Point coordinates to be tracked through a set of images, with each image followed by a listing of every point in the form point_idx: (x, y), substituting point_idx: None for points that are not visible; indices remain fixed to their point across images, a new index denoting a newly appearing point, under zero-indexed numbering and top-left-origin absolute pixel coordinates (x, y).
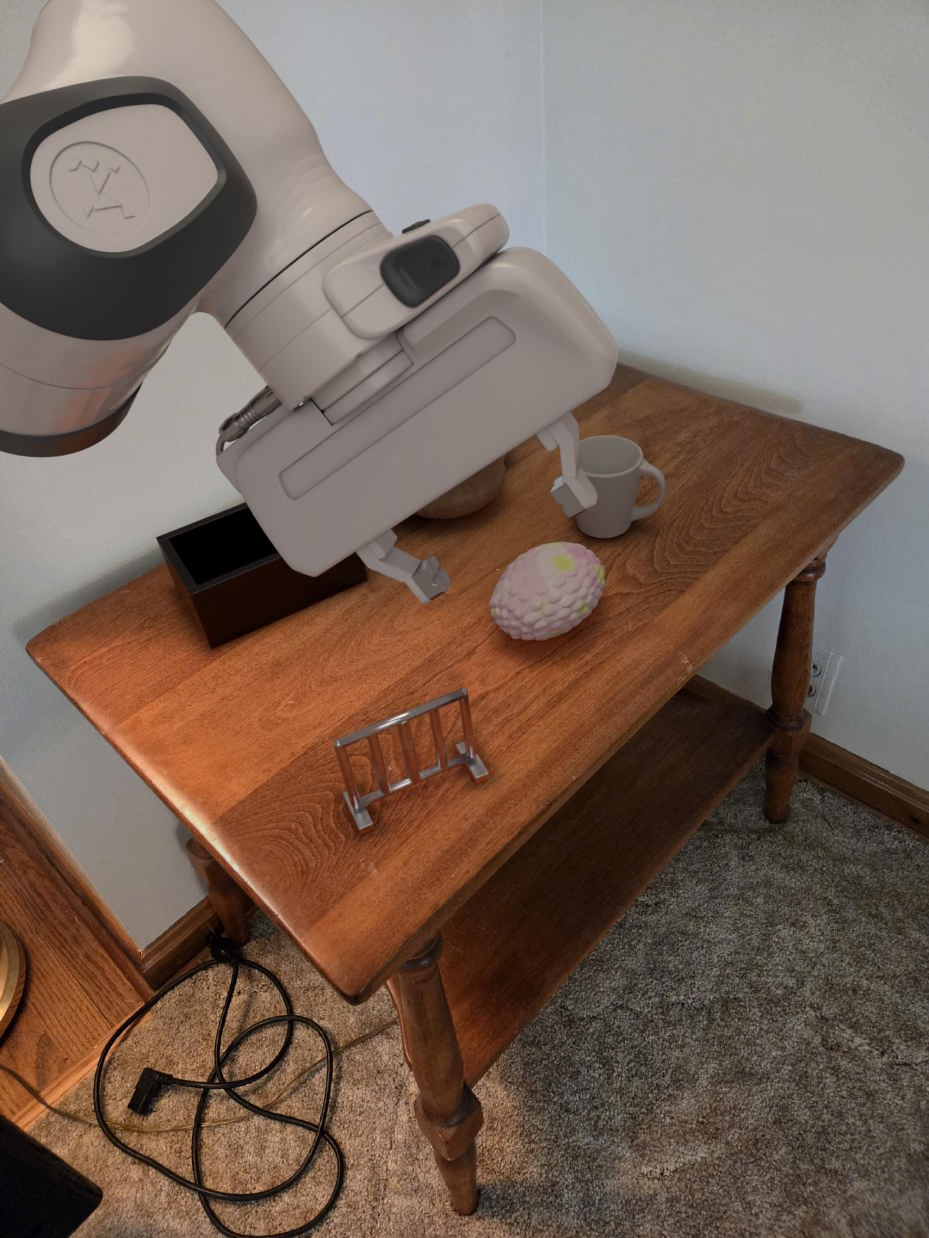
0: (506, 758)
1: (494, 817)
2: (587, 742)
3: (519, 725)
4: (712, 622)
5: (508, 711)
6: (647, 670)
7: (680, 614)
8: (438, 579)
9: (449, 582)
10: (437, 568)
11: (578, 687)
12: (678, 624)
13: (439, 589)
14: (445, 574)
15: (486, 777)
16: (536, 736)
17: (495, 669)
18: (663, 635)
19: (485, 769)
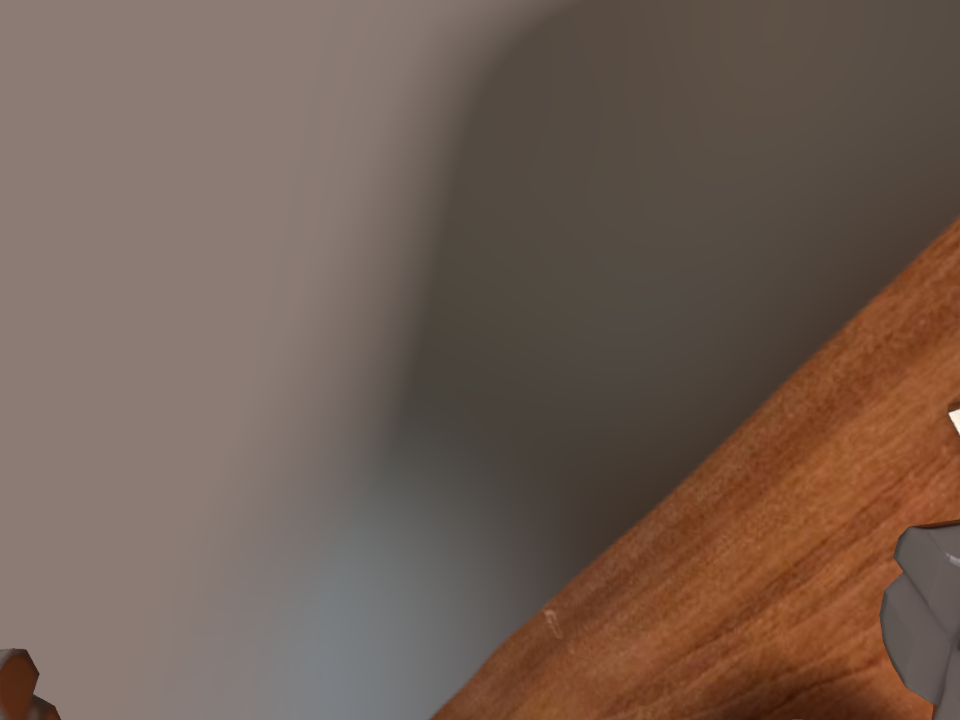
0: (906, 452)
1: (938, 308)
2: (731, 468)
3: (873, 530)
4: (502, 683)
5: (897, 569)
6: (613, 609)
7: (551, 715)
8: (943, 613)
9: (886, 610)
10: (946, 690)
11: (744, 598)
12: (556, 695)
13: (935, 534)
14: (905, 658)
15: (954, 405)
16: (836, 497)
17: None
18: (582, 678)
19: (955, 421)
